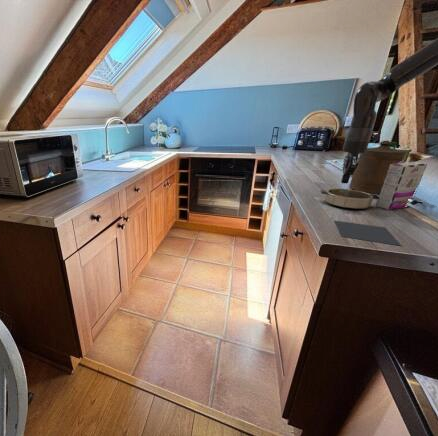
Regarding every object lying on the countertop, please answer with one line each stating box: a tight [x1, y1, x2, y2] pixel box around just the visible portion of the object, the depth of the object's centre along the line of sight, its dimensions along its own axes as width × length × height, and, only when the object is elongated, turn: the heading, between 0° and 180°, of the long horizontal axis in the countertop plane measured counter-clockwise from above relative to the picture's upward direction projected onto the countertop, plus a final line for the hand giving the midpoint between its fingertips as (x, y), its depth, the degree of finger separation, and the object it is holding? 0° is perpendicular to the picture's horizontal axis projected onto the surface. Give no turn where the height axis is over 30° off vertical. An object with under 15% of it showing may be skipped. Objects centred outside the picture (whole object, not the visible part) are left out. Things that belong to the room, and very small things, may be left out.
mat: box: [334, 220, 402, 247], centre depth 73 cm, size 13×13×1 cm
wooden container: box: [349, 140, 407, 195], centre depth 110 cm, size 15×15×22 cm
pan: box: [320, 188, 379, 210], centre depth 94 cm, size 18×14×5 cm
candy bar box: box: [375, 161, 428, 211], centre depth 89 cm, size 11×5×16 cm, turn 105°
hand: (344, 182), depth 102 cm, fingers closed
